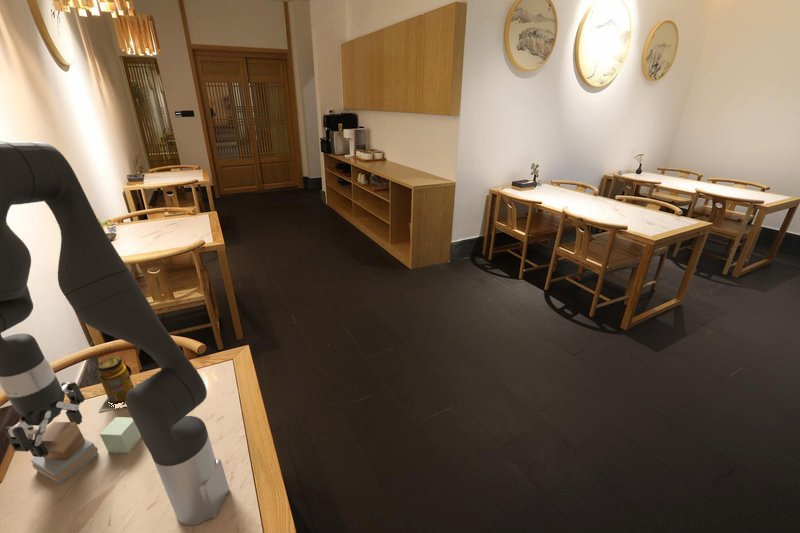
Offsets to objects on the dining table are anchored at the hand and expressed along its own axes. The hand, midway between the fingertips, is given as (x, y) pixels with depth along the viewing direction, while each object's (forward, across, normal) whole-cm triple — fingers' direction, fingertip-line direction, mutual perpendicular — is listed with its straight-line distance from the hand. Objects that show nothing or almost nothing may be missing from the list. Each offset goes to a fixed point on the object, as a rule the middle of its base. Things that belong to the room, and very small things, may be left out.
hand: (61, 438), depth 82 cm
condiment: (+7, +19, +3) cm, 21 cm away
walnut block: (+3, 0, 0) cm, 3 cm away
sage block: (+7, +5, -9) cm, 13 cm away
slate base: (+8, -1, 0) cm, 8 cm away
